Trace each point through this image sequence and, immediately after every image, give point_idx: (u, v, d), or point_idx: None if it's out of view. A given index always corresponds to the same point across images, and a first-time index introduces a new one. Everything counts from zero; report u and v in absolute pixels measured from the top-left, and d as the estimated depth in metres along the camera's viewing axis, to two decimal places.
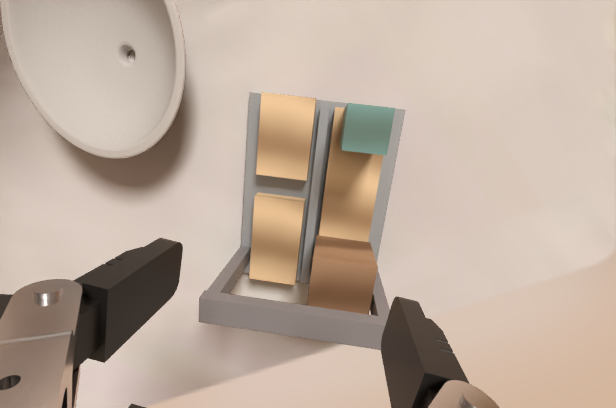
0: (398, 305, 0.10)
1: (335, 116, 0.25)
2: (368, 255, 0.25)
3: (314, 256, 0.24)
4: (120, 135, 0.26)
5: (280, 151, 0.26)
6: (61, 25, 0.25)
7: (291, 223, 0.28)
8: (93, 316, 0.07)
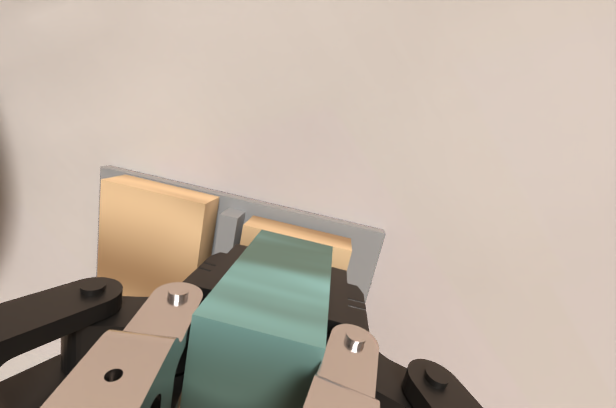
0: None
1: (242, 242, 0.13)
2: None
3: None
4: None
5: (138, 289, 0.14)
6: None
7: None
8: None
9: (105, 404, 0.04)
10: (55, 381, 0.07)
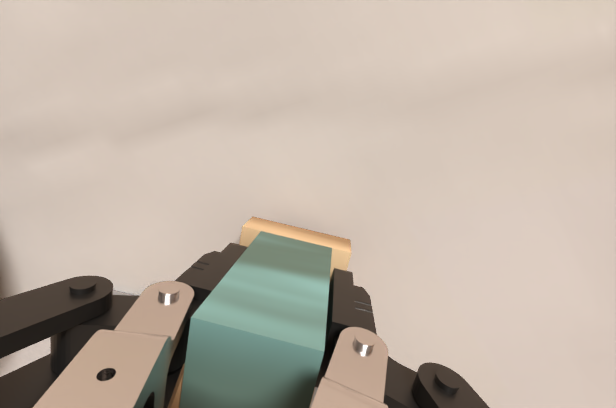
0: (333, 275, 0.11)
1: (242, 243, 0.13)
2: None
3: None
4: None
5: None
6: None
7: None
8: None
9: (98, 403, 0.04)
10: (45, 381, 0.07)
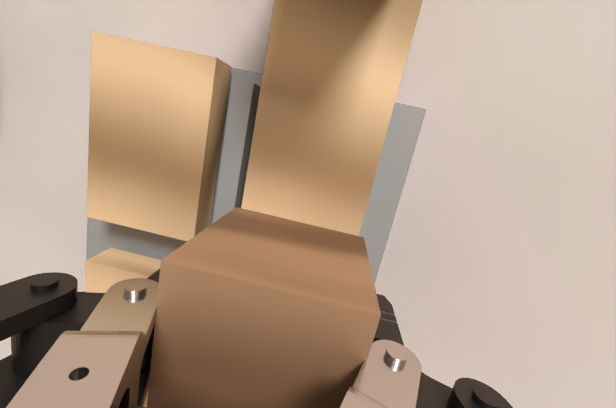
0: None
1: None
2: (355, 268, 0.08)
3: (172, 255, 0.07)
4: None
5: (137, 173, 0.12)
6: None
7: None
8: None
9: (74, 402, 0.04)
10: (9, 381, 0.07)
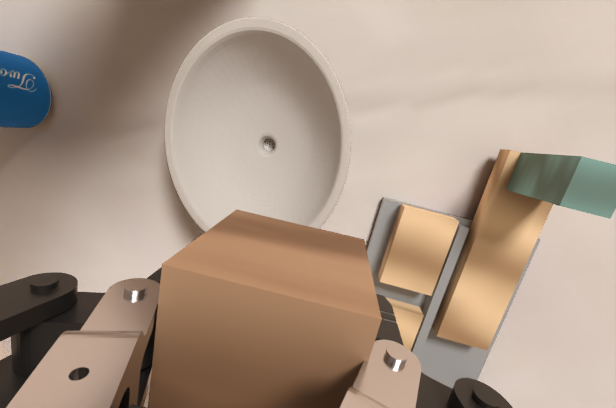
0: None
1: (508, 159, 0.23)
2: (355, 272, 0.08)
3: (173, 259, 0.07)
4: None
5: (410, 264, 0.26)
6: (213, 113, 0.25)
7: (405, 333, 0.27)
8: None
9: (74, 402, 0.04)
10: (8, 382, 0.07)
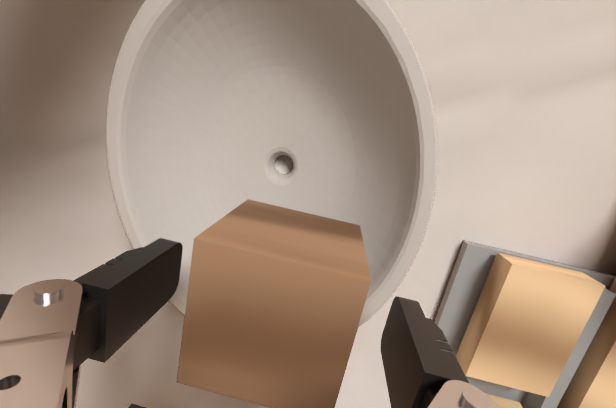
0: (398, 306, 0.10)
1: None
2: (351, 248, 0.10)
3: (202, 235, 0.09)
4: None
5: (517, 351, 0.16)
6: (192, 119, 0.15)
7: None
8: (93, 316, 0.07)
9: None
10: None
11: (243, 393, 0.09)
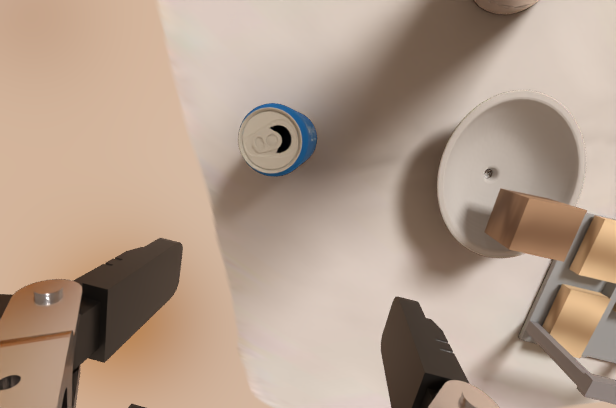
0: (398, 306, 0.10)
1: None
2: (564, 204, 0.28)
3: (528, 197, 0.27)
4: (487, 237, 0.34)
5: (605, 261, 0.35)
6: (460, 154, 0.34)
7: (594, 313, 0.36)
8: (93, 316, 0.07)
9: None
10: None
11: (533, 252, 0.28)
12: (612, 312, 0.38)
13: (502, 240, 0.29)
